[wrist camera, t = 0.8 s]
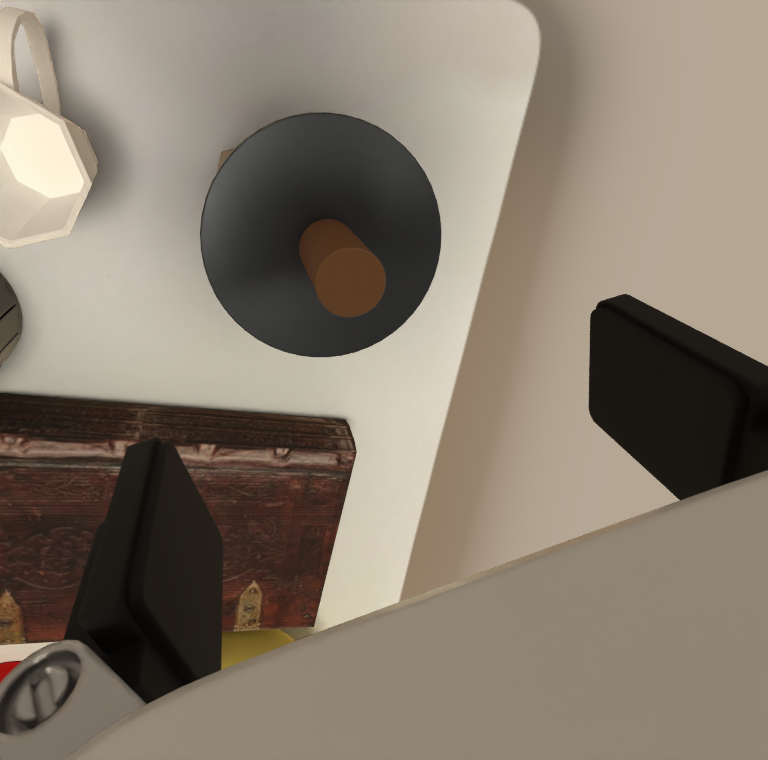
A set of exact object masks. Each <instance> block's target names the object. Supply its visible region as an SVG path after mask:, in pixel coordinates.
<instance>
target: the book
mask: <svg viewBox="0 0 768 760" xmlns="http://www.w3.org/2000/svg"><path fill="white" fill-rule="evenodd" d="M155 437H158V438H160V439H161V440H162V441H163V442H166V441H171V442H172V443H173V444H174V446H175V448H176V450H177V451H178V453H179V455H180V457H181V459H182V461H183V463H184V465H185V467H186V468H187V470H188V472H189V474H190V476H191V478H192V480H193V482H194V484H195V485H196V487H197V489H198V491H199V493H200V495H201V497H202V499H203V501H204V502H205V504H206V506H207V508H208V510H209V512H210V514H211V516H212V518H213V519H214V521H215V523H216V525H217V527H218V529H219V531H220V534H221V537H222V541H223V604H222V632H231V631H248V630H265V629H282V628H300V627H314V624H315V620H316V616H317V612H318V607H319V603H320V599H321V595H322V591H323V587H324V583H325V579H326V575H327V571H328V567H329V563H330V559H331V555H332V550H333V546H334V542H335V538H336V534H337V530H338V526H339V522H340V518H341V514H342V510H343V506H344V502H345V497H346V493H347V489H348V485H349V481H350V477H351V473H352V469H353V465H354V461H355V457H356V453H357V452H356V447H355V441H354V438H353V435H352V432H351V430H350V427H349V424H348V423H347V422H346V420H338V419H325V418H312V417H299V416H285V415H272V414H259V413H245V412H232V411H219V410H206V409H192V408H179V407H166V406H153V405H139V404H126V403H113V402H99V401H86V400H73V399H60V398H46V397H33V396H20V395H7V394H0V645H8V644H26V643H43V642H59V641H63V638H64V635H65V632H66V628H67V625H68V622H69V619H70V615H71V612H72V609H73V605H74V602H75V599H76V596H77V592H78V589H79V586H80V583H81V579H82V576H83V573H84V570H85V566H86V563H87V560H88V556H89V553H90V550H91V547H92V543H93V540H94V537H95V534H96V531H97V529H98V526H99V525H100V524H101V523H102V522H103V521H105V520H106V516H107V513H108V509H109V506H110V502H111V499H112V496H113V492H114V489H115V485H116V482H117V479H118V475H119V472H120V468H121V465H122V461H123V458H124V455H125V451H126V449H127V447H128V446H129V445H132V444H135V443H139V442H142V441H145V440H148V439H152V438H155Z"/></svg>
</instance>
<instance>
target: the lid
mask: <svg viewBox="0 0 768 760" xmlns="http://www.w3.org/2000/svg"><path fill="white" fill-rule="evenodd" d="M200 239H201V252H202V258H203V263H204V267H205V270H206V273H207V277H208V280H209V282H210V284H211V286H212V288H213V291H214V293H215V295H216V297H217V298H218V300H219V301H220V303H221V304H222V306H223V307H224V309H225V310H226V311H227V312H228V314H229V315H230V316H231V317H232V318H233V319H234V321H235V322H237V323H238V324H239V325H240V326H241V327H242V328H243V329H244V330H245V331H247V332H248V333H249V334H251V335H252V336H254V337H255V338H257V339H258V340H260V341H262V342H263V343H265V344H267V345H269V346H271V347H274V348H276V349H279V350H281V351H284V352H288V353H292V354H296V355H300V356H309V357H333V356H341V355H345V354H350V353H354V352H357V351H360V350H362V349H365V348H368V347H370V346H372V345H374V344H376V343H378V342H380V341H381V340H383V339H384V338H386V337H387V336H389V335H390V334H392V333H393V332H394V331H396V330H397V329H398V328H399V327H400V326H401V325H403V324H404V323H405V322H406V321H407V319H408V318H409V317H410V316H411V315H412V314H413V313H414V311H415V310H416V309H417V307H418V306H419V305H420V303H421V302H422V300H423V298H424V297H425V295H426V293H427V291H428V290H429V287H430V285H431V282H432V280H433V278H434V275H435V272H436V268H437V265H438V261H439V254H440V248H441V222H440V214H439V209H438V205H437V200H436V197H435V195H434V192H433V189H432V186H431V184H430V182H429V180H428V178H427V176H426V174H425V172H424V171H423V169H422V168H421V166H420V165H419V163H418V162H417V160H416V159H415V158H414V157H413V155H412V154H411V153H410V152H409V151H408V150H407V149H406V148H405V147H404V146H403V145H402V144H401V143H400V142H399V141H397V140H396V139H395V138H394V137H393V136H391V135H390V134H388V133H387V132H385V131H384V130H382V129H380V128H379V127H377V126H375V125H373V124H370V123H368V122H366V121H364V120H361V119H358V118H354V117H351V116H347V115H342V114H334V113H305V114H299V115H293V116H289V117H286V118H283V119H280V120H277V121H274V122H272V123H270V124H268V125H266V126H264V127H262V128H260V129H259V130H257V131H256V132H254V133H253V134H252V135H250V136H249V137H247V138H246V139H245V140H244V141H242V142H241V143H240V144H239V145H238V146H237V147H236V148H235V149H234V150H233V151H232V152H231V153H230V155H229V156H228V157H227V159H226V160H225V161H224V162H223V164H222V165H221V167H220V168H219V170H218V172H217V174H216V175H215V177H214V179H213V181H212V183H211V186H210V188H209V191H208V193H207V196H206V200H205V204H204V208H203V212H202V218H201V229H200Z"/></svg>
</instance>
